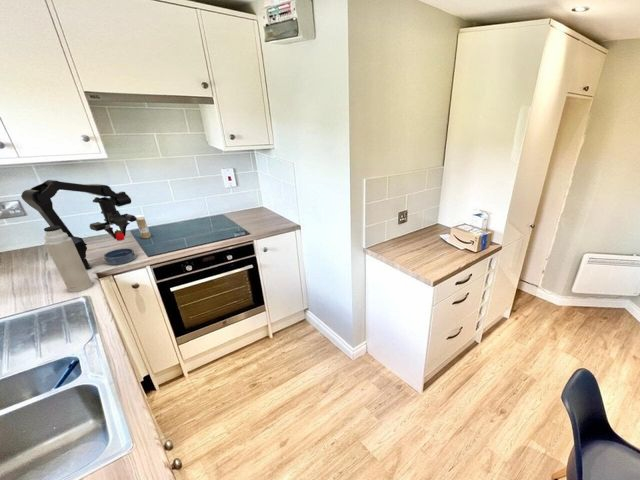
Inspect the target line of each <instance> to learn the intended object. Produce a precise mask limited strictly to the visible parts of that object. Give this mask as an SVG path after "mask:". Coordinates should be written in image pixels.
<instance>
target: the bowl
mask: <svg viewBox="0 0 640 480" xmlns="http://www.w3.org/2000/svg"><path fill="white" fill-rule="evenodd" d="M102 257H103V259H104V262H105V263H106V264H107V265H112V266H113V265H114V266H115V265H123V264H126V263H130V262H131V261H133V260H135V259H136V258H137V255H136V252H135V249H134V248H128V247H127V248H125V247H123V248H117V249H113V250H110V251H107V252H105V253H104V254H103V256H102Z"/></svg>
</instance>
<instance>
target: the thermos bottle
mask: <svg viewBox="0 0 640 480" xmlns="http://www.w3.org/2000/svg"><path fill="white" fill-rule="evenodd" d="M43 231H44V233H45V236H43V237H44V245H45V247H46V250H47V251H48V253H49V255H50V257H51V260H52V261H53V263H54V266H55V267H56V269H57V271H58V272H59V275H60V277H61V279H62V281H63V282H64V284H65V287H66V289H67V290H68V291H69V292H72V293H73V292H74V293H75V292H81V291H84V290H88V289H90V288H91V287H92V286H93V282H92V280H91V277H90V275H89V272H88V270H86V269H85V267H84V264H83V262H82V260H81V258H80V256H79V254H78V251H77V249H76V247H75V245H74V243H73V241H72V239H71V238H70V237H68V234H67V233H64V232H63V231H62V229H61V226H46V227H45V228H43Z"/></svg>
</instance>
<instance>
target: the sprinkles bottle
mask: <svg viewBox="0 0 640 480" xmlns="http://www.w3.org/2000/svg"><path fill="white" fill-rule="evenodd" d="M134 216H135V217H136V219H137V221H135V222H136V224H137V228H138V231H139V233H140V237H141V239H149V238H151V237H152V236H151V233H150V230H149V227H148V224H147V222H146V217H145V215H144V214H137V215H134Z"/></svg>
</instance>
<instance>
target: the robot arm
mask: <svg viewBox="0 0 640 480" xmlns="http://www.w3.org/2000/svg"><path fill="white" fill-rule="evenodd" d="M60 190H61V191H69V192H81V193H86V194H89V195H93V196H94V198H93V200H92V203H97V204H98V205H99V207H100V210H101V211H100V214H102V215H103V217H104V219H103V220H104V222H99V221H96V222H92V223H90V224H89V229H90V230H93V231H96V232H100V231H103V230H104V231H105V232H106V233H108V235H110V237H112V238H113V239H114V240H117V239H116V236H115V234H114V233H115V231H114V228H113V227H111V226H112V225H113V226H114V225H115V226H117V227H118V228H119V230H120V231H121V232H122V233H123V234H124V237H126V234H127V227H128V225H130V224H131V223H134V222H136V221H137V219H136V217H135V216H136V215H134V214H128V213H123V214H121V213H120V211H119V210H118V209H117V207H119V208H120V207H123V206H127V205H131V204H132V198H131V197H130V195H128V194H127V192H126V191H119V192H115V191H114V190H112V188H111V187H110V186H109V185H107V184H100V183H87V184H86V183H85V184H83V183H75V182H66V181H59V180H56V179H55V180H54V179H47V180H45V181H44V182H42V183H40V184H37V185H35V186H33V187H31V188H30V189H25V190H23V191H22V193H21V195H20V197H21V199H22V201H24V202H25V203H26V204H27V205H28V206H29V207H31V208H32V209H34V210H35V211H37V212H38V213H39V214H40V215H41V217H42V218H43V219H44V221H45V222H46V223H47V224H48V227H50V226H61V229H62V231H63V232H64V233H67V234H68V237H70V238H71V239H72V241H73V243H74V245H75V247H76V249H77V251H78V254H79V256H80V258H81V260H82V262H83V264H84V267H85V269H86V271H88V270H90V269H92V267H91V266H90V264H89V261H88V259H87V250H88V247H87V246H88V244H87V243H86V242H85V241H84V239H83V238H82V237H79V236H74V235H73V233H72V232H71V231H70V230H69V229H70V228H68V226H67V225H66V224H65V223H64V221H63V220H62V218H60V216H59V215H58V213H57V212H56V211H55V210H54V207H53V205H54V204H53V200H52V198H53V197H55V196H56V195H57V193H58V192H59V191H60Z"/></svg>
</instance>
